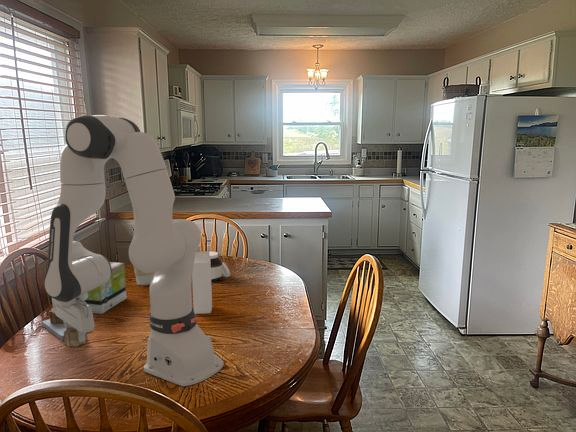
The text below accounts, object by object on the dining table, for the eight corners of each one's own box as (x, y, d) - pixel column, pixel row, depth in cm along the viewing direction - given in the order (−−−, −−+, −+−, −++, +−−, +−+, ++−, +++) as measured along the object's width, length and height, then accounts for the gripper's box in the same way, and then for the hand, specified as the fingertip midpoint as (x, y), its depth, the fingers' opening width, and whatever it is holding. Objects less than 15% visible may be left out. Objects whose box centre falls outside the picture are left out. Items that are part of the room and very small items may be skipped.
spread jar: (196, 279, 183) (195, 254, 181) (214, 272, 192) (213, 248, 190) (217, 284, 177) (216, 258, 174) (234, 277, 186) (233, 251, 184)
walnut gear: (75, 318, 141) (74, 307, 140) (57, 325, 136) (56, 314, 135) (64, 315, 144) (63, 304, 143) (46, 321, 139) (45, 310, 138)
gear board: (91, 330, 136) (89, 311, 134) (62, 340, 129) (60, 321, 128) (70, 316, 146) (68, 299, 145) (42, 325, 139) (40, 307, 138)
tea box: (103, 314, 148) (99, 274, 145) (78, 312, 150) (74, 273, 147) (127, 298, 162) (124, 261, 159) (104, 296, 164) (101, 260, 161)
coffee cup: (160, 281, 181) (158, 247, 178) (143, 287, 173) (141, 252, 170) (146, 277, 186) (144, 244, 183) (129, 283, 178) (126, 249, 175)
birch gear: (90, 341, 129) (89, 329, 128) (70, 348, 124) (69, 336, 123) (82, 335, 132) (80, 323, 132) (61, 342, 128) (60, 330, 127)
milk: (210, 313, 149) (208, 253, 144) (193, 314, 148) (190, 254, 144) (212, 306, 154) (210, 249, 150) (195, 307, 154) (193, 249, 149)
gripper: (97, 300, 121) (102, 343, 124) (68, 283, 134) (72, 323, 137) (75, 306, 116) (80, 352, 119) (46, 289, 129) (51, 330, 132)
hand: (75, 337), depth 128 cm, fingers closed on birch gear, 6 cm apart
